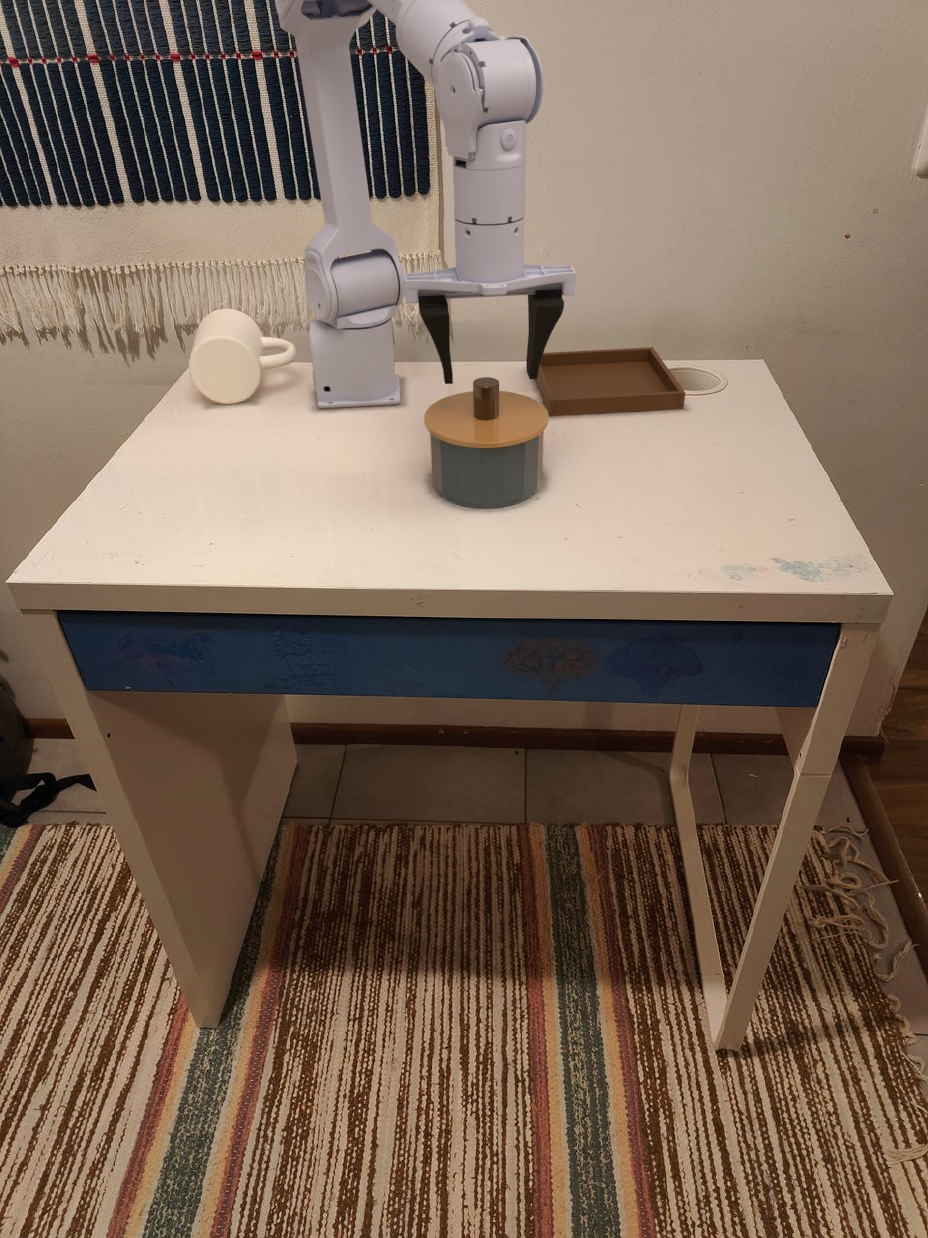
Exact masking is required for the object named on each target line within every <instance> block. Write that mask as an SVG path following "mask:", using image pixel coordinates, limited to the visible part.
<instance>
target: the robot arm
mask: <svg viewBox="0 0 928 1238" xmlns="http://www.w3.org/2000/svg"><path fill="white" fill-rule="evenodd" d="M274 5H275V8H276V9H275V10H276V13H277V16H278V21H279V27H280V28H281V29H282V30H283V31H285V32H286V33H288V34H290V35H292V36H293V37H294V42H295V48H296V54H297V59H298V65H299V72H300V78H301V84H302V90H303V96H304V103H305V109H306V116H307V121H308V128H309V133H310V140H311V147H312V152H313V158H314V164H315V170H316V177H317V182H318V190H319V194H320V201H321V208H322V214H323V221H324V223H323V226H322V227H321V228H320V230H319V231H318V232H317V233H316V235H315V236H314V237H313V238H312V239H311V240H310V241H309V242H308V244H307V245H306V246H305V247H304V249H303V252H304V256H303V257H304V266H305V276H304V287H305V292H306V297H307V300H308V303H309V306H310V307H311V308H310V309H311V310H312V311H313V314H314V315H315V316H316V317H317V318H318V319H312V320H310V321H309V344H310V345H309V346H310V353H311V362H312V369H313V370H312V377H313V384H314V386H315V392H316V399H317V407H318V408H319V409H331V408H349V407H367V406H369V407H370V406H384V405H398V404H401V388H400V385H401V384H400V375H399V374H396V366H395V364H396V363H395V353H394V351H395V350H394V339H393V338H394V337H393V325H392V318H394V317H396V316H398V315H397V314H398V313H397V308H398V307H400V305H402V303H403V301H404V298H405V304H418V310H419V315H420V317H421V319H422V322H423V323H424V325H425V328H426V329H427V331H428V333H429V335H430V337H431V339H432V341H433V344H434V346H435V349H436V351H437V354H438V357H439V361H440V364H441V367H442V370H443V381H444V384H446V385H452V384H453V383H454V380H453V379H454V372H453V366H452V357H451V343H450V341H451V340H450V339H451V338H450V337H451V336H450V334H451V333H450V313H449V304H448V300H453V299H456V300H457V299H472V298H492V297H493V298H494V297H513V296H514V297H515V296H527V306H528V307H527V313H528V319H527V320H528V335H527V337H528V338H527V349H526V359H525V360H526V361H525V362H526V363H525V364H526V374H527V376H528V378H529V380H535V379H537V377H538V371H539V366H540V362H541V359H542V355H543V353H545V349H546V348H547V347H546V346H547V344H548V341H549V339H550V337H551V335H552V332H553V331H554V329H555V327H556V325H557V323H558V322H559V320H560V318H561V317H562V315H563V312H564V309H565V301H564V299H563V296H575V295H576V285H577V284H576V282H577V272H576V270H575V268H574V267H573V265H543V264H524V259H525V258H524V257H525V256H524V255H525V250H524V249H525V208H526V207H525V205H526V203H525V201H526V200H525V199H526V150H527V148H526V147H527V124H529V123H531V122H532V121H533V120H534V119H535V118H536V116H537V114H538V113H539V110H540V107H541V104H542V100H543V93H544V74H543V67H542V63H541V60H540V57H539V54H538V52H537V51H536V49H535V48H534V46H533V45H532V44H531V42H530V40H529V39H528V37H526V36H524V35H521V34H519V35H518V34H517V35H510V36H507V37H505V36H504V35H498V34H497V33H496V32H494V30H492V28H491V25H490V23H489V22H488V21H487V20H486V19H485V18H484V17H479V15H478V14H476V13H475V12H474V11H473V10H472V8H470V7H469V5H467V4H466V3H465V2H464V1H463V0H274ZM376 11H378V12H379V13H381V14H382V15H383V16H384V17H386V18H387V19H388V20H389V21H390V22H391V23H392V24H393V25H395V39H396V44H397V46H398V49H399V50H400V52H401V53H402V55H403V56H404V57H405V58H406V59H407V60H408V61H409V62H410V63H411V64H412V65H413V66H414V68H415V69H416V71H418V72H419V73H420V74H421V75H422V77H424V78H425V80H426V81H428V83H429V84H430V85H431V86H432V87H433V88H434V95H435V103H436V106H437V111H438V113H439V116H440V119H441V122H442V125H443V128H444V142H445V143H444V144H445V147H446V149H447V150H446V151H447V155H449V156H452V173H453V174H452V176H453V177H452V179H453V208H454V209H453V210H454V213H453V215H454V246H455V249H454V250H455V251H454V252H455V266H454V267H448V268H441V269H436V270H429V271H421V272H413V273H405V271H404V267H403V264H402V262H401V260H400V256H399V254H398V248H397V243H396V239H395V237H394V236H393V235H391V234H390V233H389V232H388V231H386V230H385V229H384V228H382V227H381V226H379V225H377V224H376V223H375V222H374V221H373V216H372V207H371V201H370V191H369V186H368V177H367V171H366V164H365V157H364V156H365V155H364V149H363V141H362V134H361V127H360V120H359V118H360V117H359V113H358V112H359V111H358V105H357V98H356V91H355V89H356V88H355V83H354V74H353V67H352V61H351V60H352V59H351V54H350V44H351V40H352V38H353V36H354V35H355V32H356V30H358V29H360V28H361V27H363V26H364V25H366V24H368V22H369V20H370V19H371V18H372V16H373V15H374V14H375V13H376ZM352 254H353V255H352Z"/></svg>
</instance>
